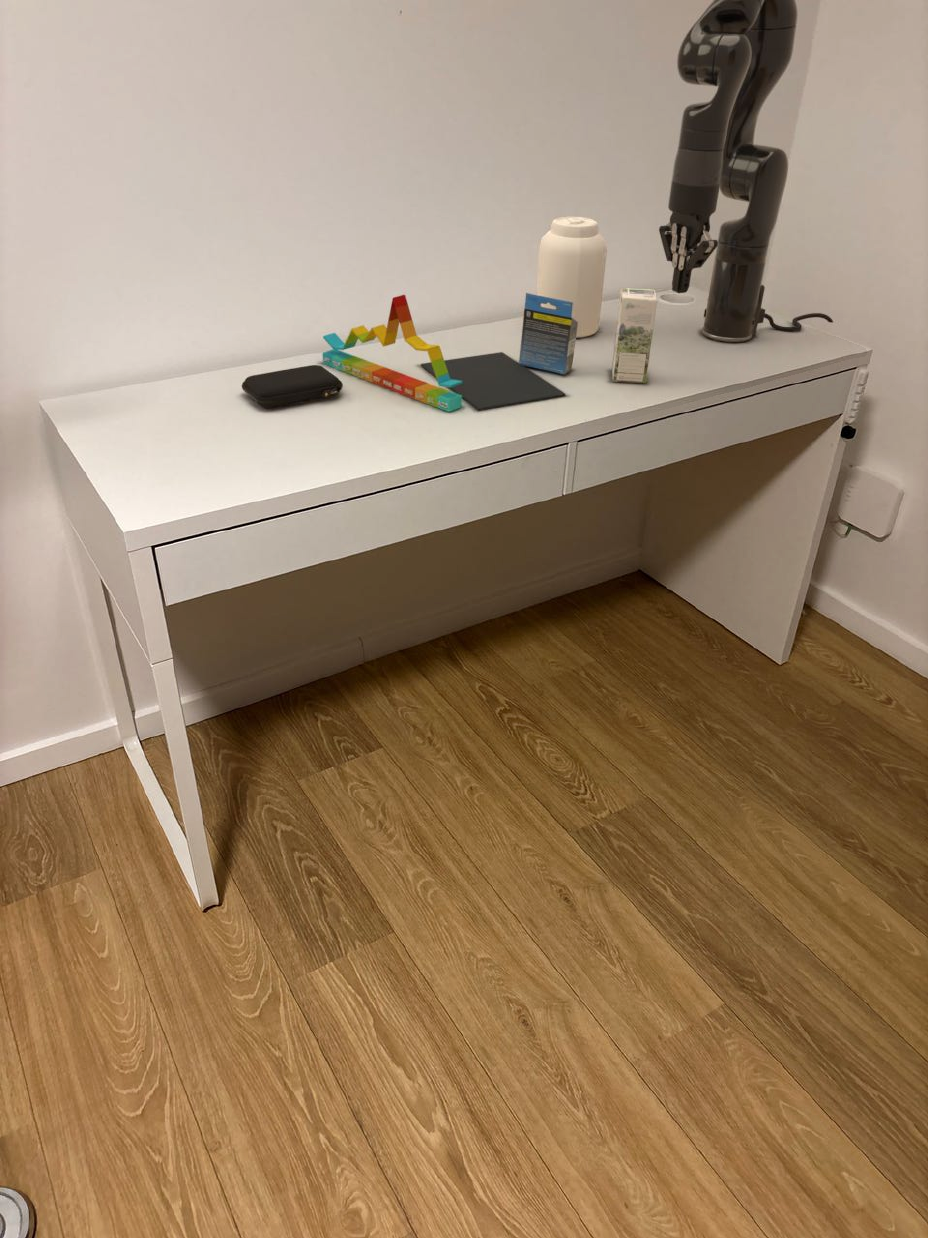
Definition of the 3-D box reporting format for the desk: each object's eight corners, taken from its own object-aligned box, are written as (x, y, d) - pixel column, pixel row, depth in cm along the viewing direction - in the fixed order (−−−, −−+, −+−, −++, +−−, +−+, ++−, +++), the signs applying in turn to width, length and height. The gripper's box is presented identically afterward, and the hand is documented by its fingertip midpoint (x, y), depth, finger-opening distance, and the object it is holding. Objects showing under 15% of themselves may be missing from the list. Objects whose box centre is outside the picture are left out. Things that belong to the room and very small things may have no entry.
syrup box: (644, 372, 169) (655, 287, 161) (646, 384, 164) (657, 297, 156) (611, 370, 169) (620, 285, 161) (612, 382, 164) (622, 296, 156)
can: (538, 316, 194) (545, 210, 183) (601, 322, 192) (612, 214, 181) (529, 336, 184) (536, 224, 173) (595, 341, 182) (607, 229, 171)
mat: (501, 354, 175) (501, 351, 175) (565, 395, 159) (565, 393, 159) (420, 365, 169) (420, 363, 169) (478, 410, 153) (478, 408, 153)
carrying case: (264, 415, 149) (350, 398, 156) (262, 396, 147) (350, 380, 154) (239, 393, 156) (322, 377, 163) (237, 374, 155) (321, 360, 161)
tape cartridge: (572, 369, 169) (582, 297, 163) (564, 375, 166) (574, 302, 160) (526, 359, 172) (534, 288, 166) (517, 364, 169) (525, 292, 163)
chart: (322, 363, 169) (316, 275, 160) (336, 359, 171) (331, 271, 162) (447, 412, 152) (449, 316, 143) (461, 407, 154) (464, 312, 145)
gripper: (742, 185, 149) (722, 299, 159) (689, 170, 159) (673, 279, 168) (703, 188, 146) (685, 304, 156) (651, 173, 156) (638, 283, 165)
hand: (679, 291), depth 162 cm, fingers closed
